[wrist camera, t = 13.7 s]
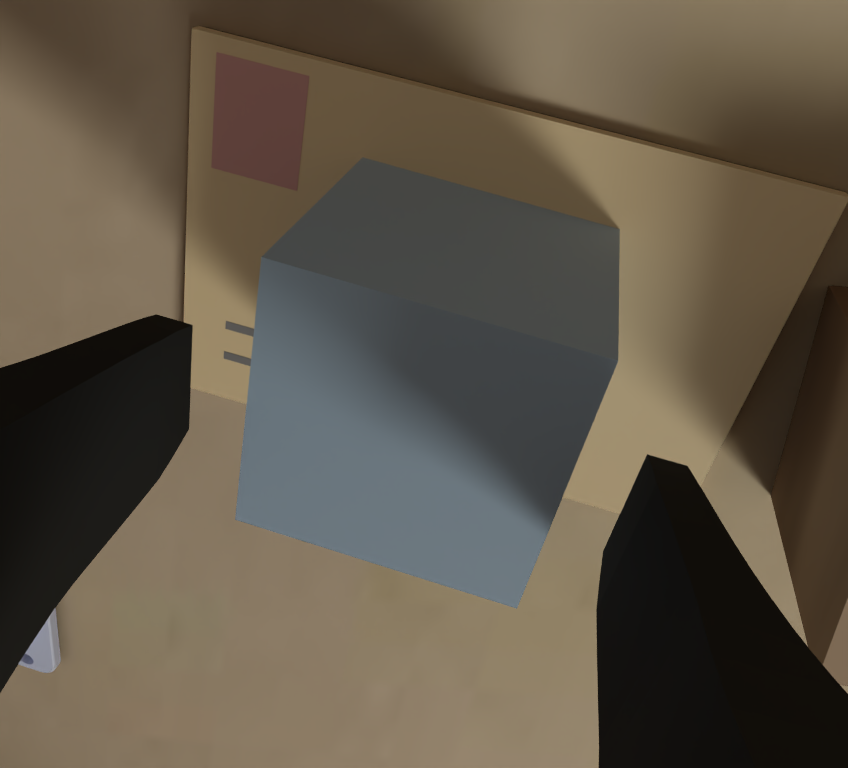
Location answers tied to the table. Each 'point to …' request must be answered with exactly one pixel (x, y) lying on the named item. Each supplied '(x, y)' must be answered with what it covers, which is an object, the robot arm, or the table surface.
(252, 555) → the table surface
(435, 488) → the slate cube
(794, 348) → the table surface
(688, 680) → the robot arm
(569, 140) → the letter
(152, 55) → the table surface
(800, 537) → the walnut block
